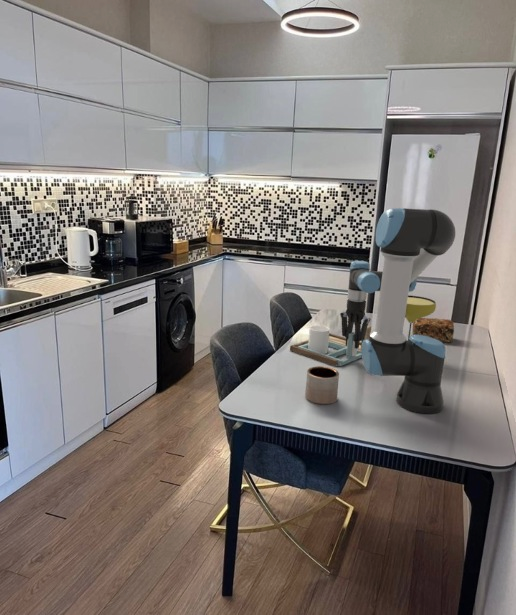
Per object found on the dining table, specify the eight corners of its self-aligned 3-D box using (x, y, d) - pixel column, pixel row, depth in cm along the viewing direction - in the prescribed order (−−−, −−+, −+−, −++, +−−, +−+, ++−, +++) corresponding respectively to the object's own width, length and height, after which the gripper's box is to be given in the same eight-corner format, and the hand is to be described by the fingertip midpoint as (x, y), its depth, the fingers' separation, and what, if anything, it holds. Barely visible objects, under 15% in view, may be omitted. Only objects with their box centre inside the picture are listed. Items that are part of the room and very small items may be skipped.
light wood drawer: (362, 354, 206) (364, 328, 203) (320, 341, 221) (322, 317, 218) (370, 350, 211) (373, 325, 208) (329, 338, 226) (331, 314, 223)
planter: (329, 408, 155) (331, 381, 153) (299, 399, 161) (301, 373, 158) (341, 396, 164) (344, 371, 162) (313, 388, 170) (315, 363, 167)
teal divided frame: (340, 366, 192) (343, 337, 189) (297, 351, 207) (299, 324, 204) (363, 356, 204) (366, 329, 201) (321, 343, 219) (323, 318, 216)
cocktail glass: (404, 365, 197) (411, 306, 190) (377, 350, 212) (383, 296, 206) (437, 360, 204) (445, 303, 198) (408, 346, 220) (415, 294, 214)
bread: (450, 337, 237) (453, 318, 234) (452, 344, 227) (455, 324, 224) (411, 333, 242) (413, 314, 239) (411, 339, 232) (414, 319, 229)
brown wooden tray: (335, 366, 192) (335, 361, 191) (289, 350, 208) (290, 345, 207) (372, 350, 212) (373, 346, 212) (328, 337, 228) (329, 333, 228)
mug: (335, 350, 211) (337, 327, 208) (319, 356, 202) (321, 332, 199) (320, 345, 216) (321, 323, 213) (303, 351, 208) (305, 328, 205)
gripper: (377, 301, 189) (371, 357, 195) (346, 294, 199) (341, 347, 205) (368, 304, 184) (362, 361, 190) (336, 297, 194) (331, 351, 200)
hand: (351, 354), depth 198 cm, fingers closed on teal divided frame, 2 cm apart
